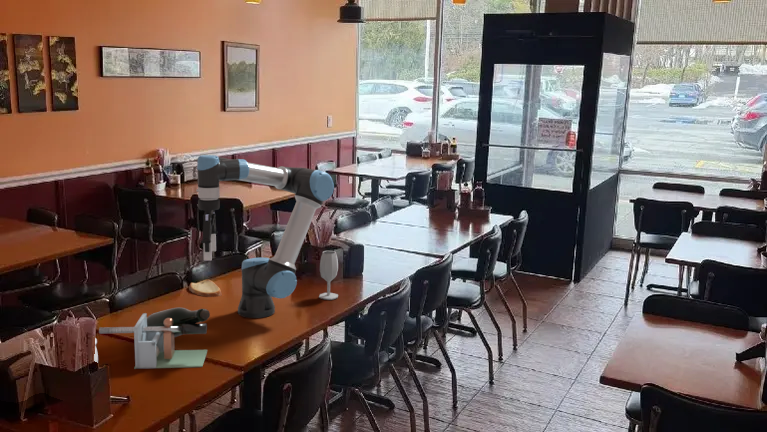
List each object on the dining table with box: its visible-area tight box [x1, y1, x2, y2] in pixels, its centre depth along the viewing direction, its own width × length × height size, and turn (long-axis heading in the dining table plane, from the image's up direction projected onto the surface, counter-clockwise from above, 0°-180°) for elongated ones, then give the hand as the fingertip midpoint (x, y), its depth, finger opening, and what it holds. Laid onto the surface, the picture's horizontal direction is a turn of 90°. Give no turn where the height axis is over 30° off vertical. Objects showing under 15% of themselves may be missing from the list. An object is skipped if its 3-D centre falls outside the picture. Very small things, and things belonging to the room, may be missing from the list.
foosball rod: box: [98, 318, 208, 359], centre depth 233 cm, size 35×6×14 cm, turn 97°
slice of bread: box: [188, 278, 222, 298], centre depth 313 cm, size 18×18×4 cm
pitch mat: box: [134, 349, 208, 370], centre depth 235 cm, size 22×14×1 cm, turn 97°
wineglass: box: [318, 250, 339, 301], centre depth 305 cm, size 9×9×21 cm
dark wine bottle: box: [147, 307, 211, 338], centre depth 241 cm, size 10×10×33 cm
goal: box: [133, 312, 164, 369], centre depth 233 cm, size 7×14×14 cm, turn 7°
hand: (210, 255), depth 250 cm, fingers open, 13 cm apart
